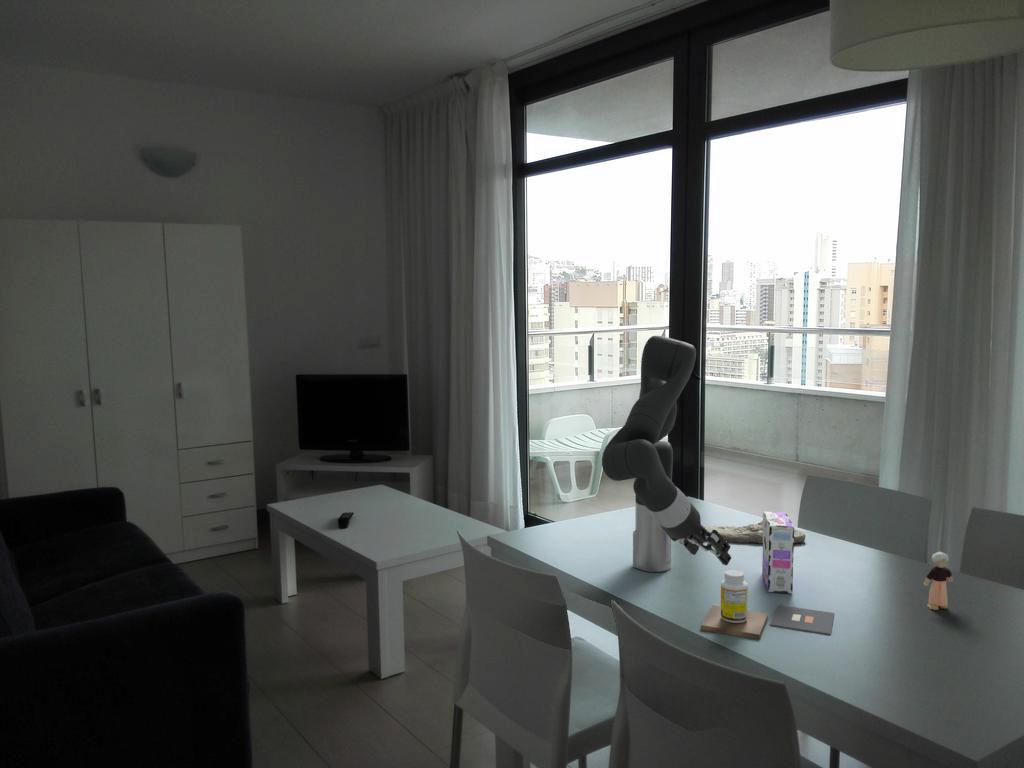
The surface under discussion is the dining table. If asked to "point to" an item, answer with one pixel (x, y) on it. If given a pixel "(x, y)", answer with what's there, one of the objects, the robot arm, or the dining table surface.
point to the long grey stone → (748, 533)
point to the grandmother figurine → (938, 581)
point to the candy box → (778, 552)
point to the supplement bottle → (734, 597)
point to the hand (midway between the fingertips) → (711, 556)
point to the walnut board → (735, 624)
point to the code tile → (803, 619)
